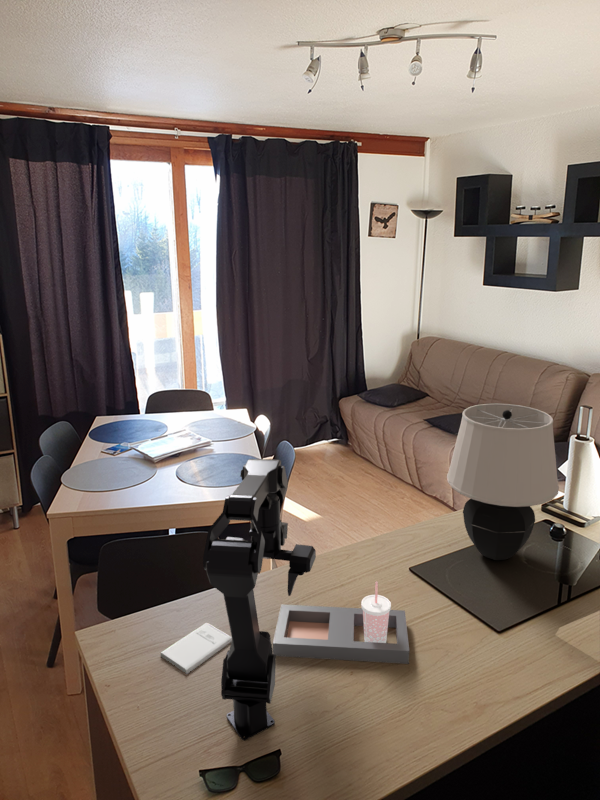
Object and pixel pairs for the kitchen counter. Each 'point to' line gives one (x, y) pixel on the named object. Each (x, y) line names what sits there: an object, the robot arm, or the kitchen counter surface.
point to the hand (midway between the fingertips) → (267, 591)
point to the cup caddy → (335, 635)
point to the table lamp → (503, 474)
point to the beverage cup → (375, 617)
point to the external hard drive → (196, 647)
